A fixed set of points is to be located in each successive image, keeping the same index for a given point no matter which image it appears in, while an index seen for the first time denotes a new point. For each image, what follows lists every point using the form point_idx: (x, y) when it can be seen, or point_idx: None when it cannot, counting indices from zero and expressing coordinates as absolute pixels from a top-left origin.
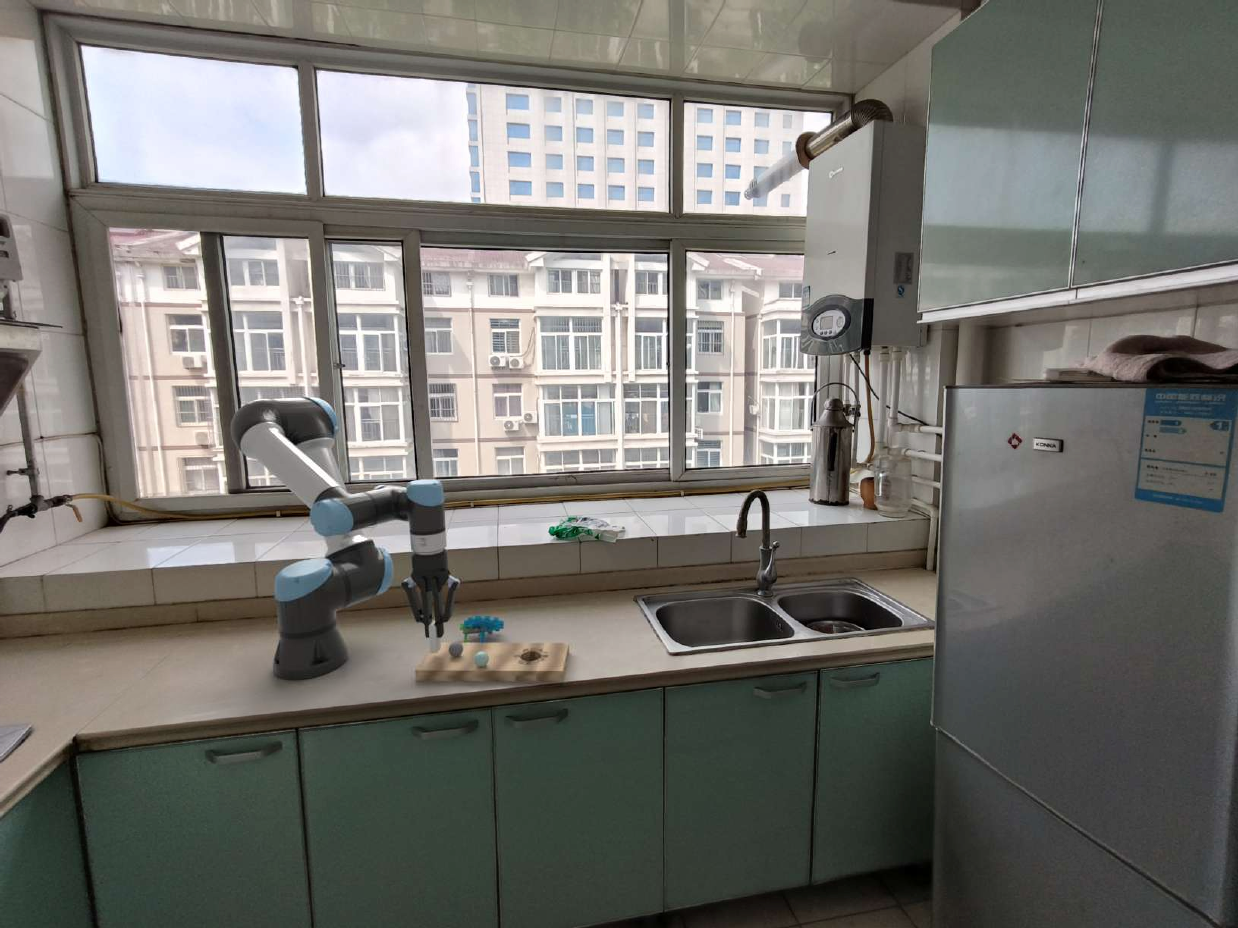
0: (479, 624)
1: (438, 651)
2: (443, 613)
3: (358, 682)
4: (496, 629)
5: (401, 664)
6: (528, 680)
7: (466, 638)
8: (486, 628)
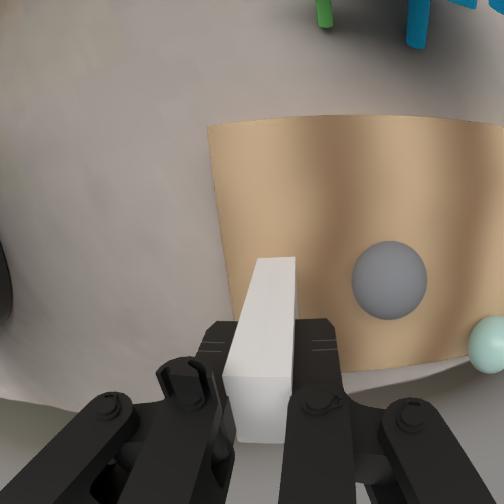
0: None
1: (271, 225)
2: (352, 449)
3: (95, 345)
4: None
5: (134, 246)
6: None
7: (331, 10)
8: None
